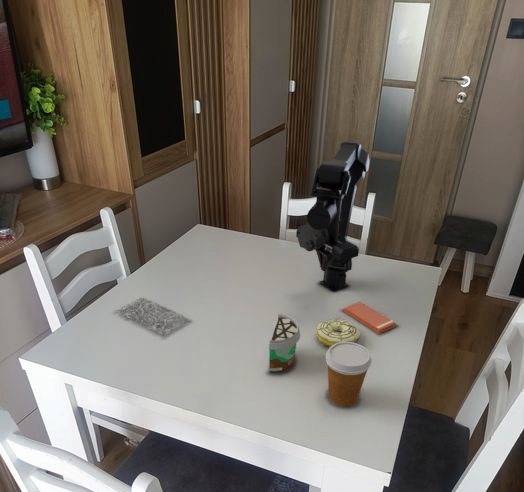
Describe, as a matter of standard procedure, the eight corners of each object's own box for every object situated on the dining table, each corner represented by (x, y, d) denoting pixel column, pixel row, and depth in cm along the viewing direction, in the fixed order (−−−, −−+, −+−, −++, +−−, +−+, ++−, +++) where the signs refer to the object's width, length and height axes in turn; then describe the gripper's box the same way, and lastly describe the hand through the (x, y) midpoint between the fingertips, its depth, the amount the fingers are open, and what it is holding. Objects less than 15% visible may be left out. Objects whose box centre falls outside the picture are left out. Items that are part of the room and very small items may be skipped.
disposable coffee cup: (317, 384, 110) (322, 341, 103) (358, 382, 111) (365, 339, 104) (325, 413, 102) (330, 368, 96) (370, 411, 103) (378, 366, 96)
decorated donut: (365, 338, 125) (367, 326, 123) (341, 356, 119) (343, 344, 117) (332, 323, 131) (334, 311, 129) (308, 340, 125) (309, 327, 122)
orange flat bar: (342, 311, 137) (343, 306, 136) (359, 304, 140) (359, 300, 139) (379, 334, 127) (379, 329, 126) (395, 326, 130) (396, 322, 130)
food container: (294, 380, 111) (296, 345, 106) (268, 377, 112) (269, 341, 107) (301, 349, 121) (304, 315, 116) (277, 346, 122) (278, 312, 117)
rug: (142, 298, 141) (141, 295, 141) (190, 321, 131) (190, 318, 131) (114, 312, 135) (114, 309, 134) (163, 337, 125) (163, 334, 124)
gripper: (281, 210, 125) (279, 265, 134) (329, 235, 112) (323, 293, 121) (314, 202, 130) (310, 255, 139) (363, 224, 118) (356, 281, 127)
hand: (323, 270), depth 131 cm, fingers closed
